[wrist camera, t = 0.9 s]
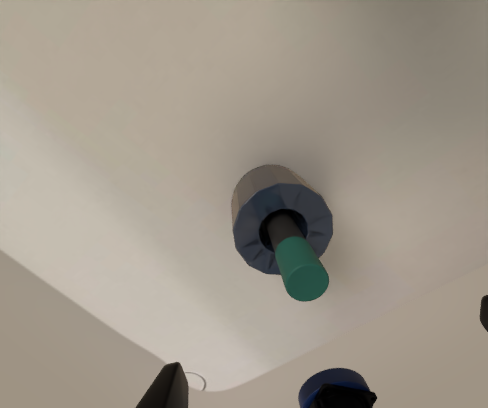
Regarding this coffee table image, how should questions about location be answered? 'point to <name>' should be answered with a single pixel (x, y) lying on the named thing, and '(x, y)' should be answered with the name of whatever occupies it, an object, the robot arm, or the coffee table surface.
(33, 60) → the coffee table surface
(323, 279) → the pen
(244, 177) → the pen cup
